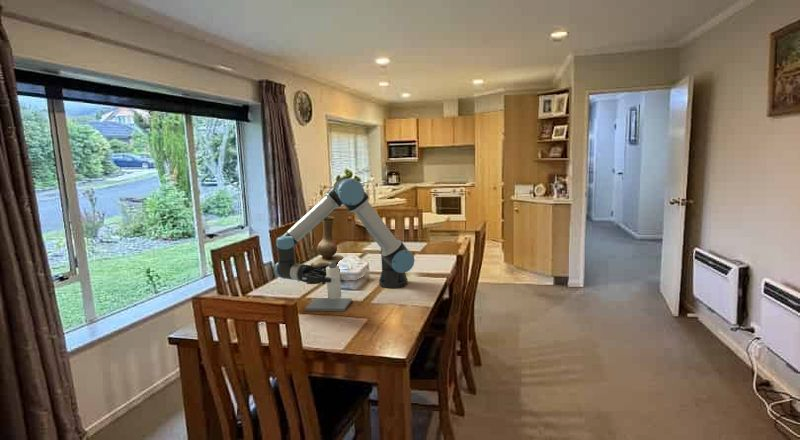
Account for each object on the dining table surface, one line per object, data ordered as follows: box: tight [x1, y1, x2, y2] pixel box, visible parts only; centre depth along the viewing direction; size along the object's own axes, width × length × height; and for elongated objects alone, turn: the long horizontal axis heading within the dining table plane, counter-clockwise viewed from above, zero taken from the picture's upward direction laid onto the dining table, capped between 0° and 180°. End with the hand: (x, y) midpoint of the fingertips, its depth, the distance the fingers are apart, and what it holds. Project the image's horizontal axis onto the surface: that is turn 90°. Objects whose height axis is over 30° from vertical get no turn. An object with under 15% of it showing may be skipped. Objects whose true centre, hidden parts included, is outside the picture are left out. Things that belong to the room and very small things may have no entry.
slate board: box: [304, 297, 353, 312], centre depth 195 cm, size 18×14×1 cm
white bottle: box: [326, 262, 342, 299], centre depth 179 cm, size 6×6×15 cm
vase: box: [306, 215, 345, 285], centre depth 241 cm, size 24×22×35 cm
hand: (342, 278), depth 177 cm, fingers closed on white bottle, 6 cm apart
